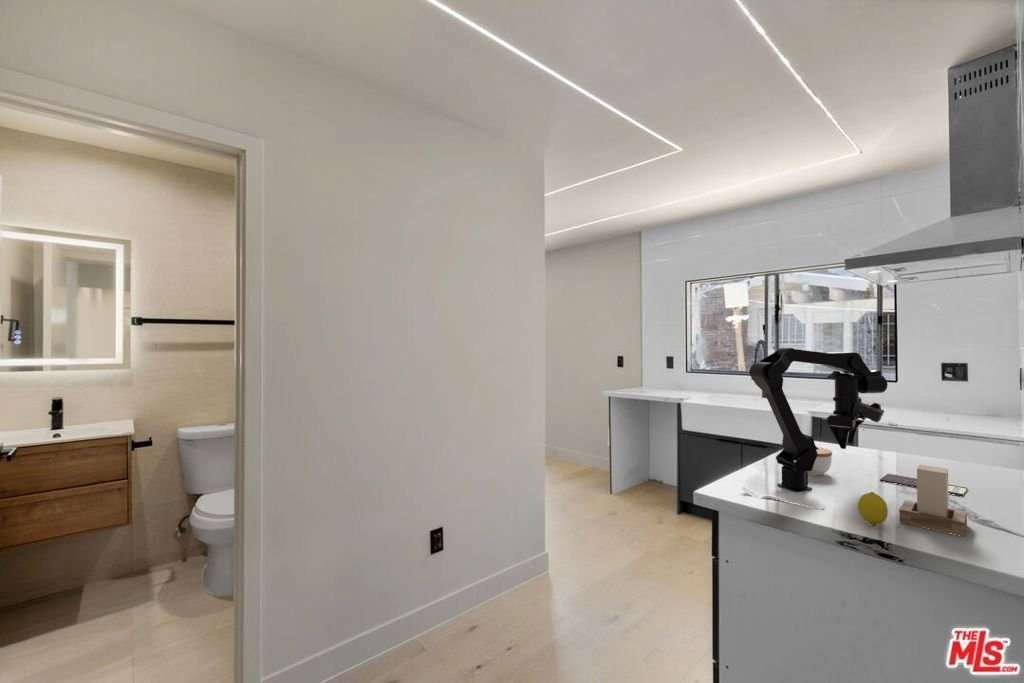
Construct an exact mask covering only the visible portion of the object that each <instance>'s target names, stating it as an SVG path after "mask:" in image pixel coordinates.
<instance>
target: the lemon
mask: <svg viewBox="0 0 1024 683" xmlns="http://www.w3.org/2000/svg"><path fill="white" fill-rule="evenodd" d="M888 509H889V508H888V504H887V503H886V501H885V500H884V498H883V497H882V496H880V495H878V494H877V493H875V492H873V491H870V492H868V493H863V494H862V495H861V496H860V498H859V499H858V501H857V510H858V513H859V515H860V517H861V518H862V520H864V521H865V522H866V523H869V524H870V525H871V526H873V527H875V526H876V525H878V524H882V523H884V522H885V521H886V520H887V518H888V514H889V513H888V512H889V510H888Z"/></svg>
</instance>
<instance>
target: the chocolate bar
mask: <svg viewBox="0 0 1024 683" xmlns="http://www.w3.org/2000/svg"><path fill="white" fill-rule="evenodd" d="M882 481H885V482H884V483H887V482H891V483H890V484H892V483H897V484H896V485H898V484H902V485H901V486H903V485H907V486H906V487H908V486H913V487H917V477H916V478H915V477H911V476H910V477H908V476H903V475H898V474H893V473H887V474H885V475H883V476H882V477H881V478H880V479H879V482H882ZM913 487H912V488H913ZM967 489H968V487H965V486H960V485H953V484H949V483H948V493H950V494H955V495H959V496H958V497H960V496H963V497H964V496H965V494H966V493H967V491H968V490H967ZM966 490H967V491H966ZM964 493H965V494H964ZM950 494H949V495H950ZM955 495H954V496H955Z"/></svg>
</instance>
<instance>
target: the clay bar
mask: <svg viewBox="0 0 1024 683" xmlns="http://www.w3.org/2000/svg"><path fill="white" fill-rule="evenodd" d="M916 479H917V488H916V502H917V512H921V513H925V514H930V515H935V516H940V517H945V518H949V513H948V508H949V494H948V484H949V468H946V467H939V466H931V465H926V464H919V465H918V466H917V468H916Z"/></svg>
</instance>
